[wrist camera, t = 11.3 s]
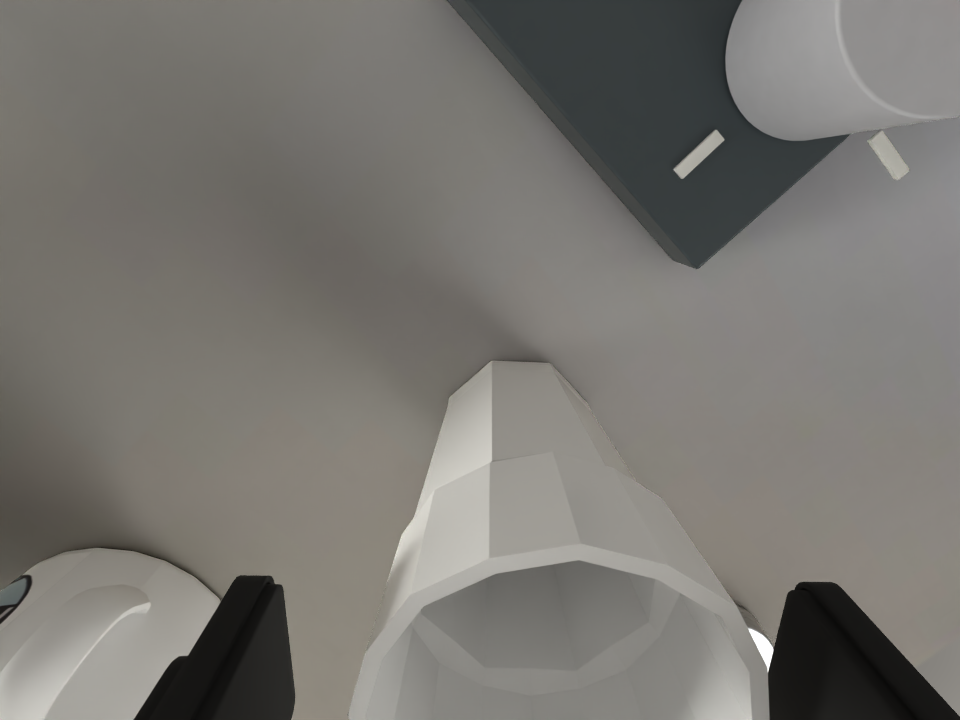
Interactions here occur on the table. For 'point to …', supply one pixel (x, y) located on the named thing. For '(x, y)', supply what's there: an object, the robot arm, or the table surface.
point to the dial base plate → (654, 110)
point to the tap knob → (843, 65)
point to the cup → (549, 580)
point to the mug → (95, 633)
